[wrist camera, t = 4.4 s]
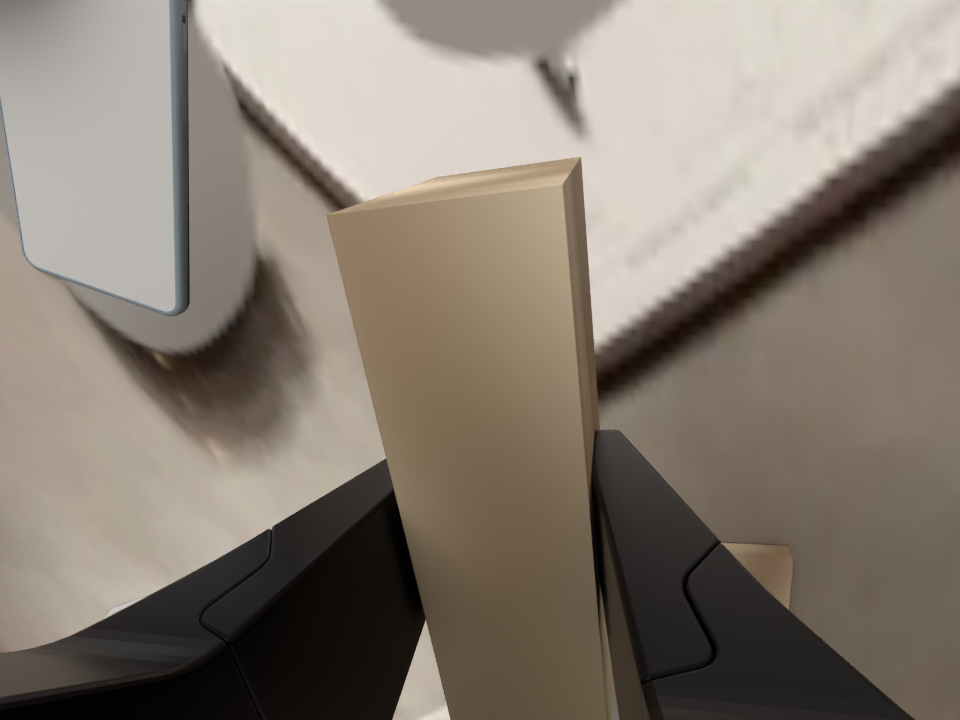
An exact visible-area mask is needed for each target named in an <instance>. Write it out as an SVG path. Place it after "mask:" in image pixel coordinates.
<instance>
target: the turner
mask: <svg viewBox="0 0 960 720" xmlns="http://www.w3.org/2000/svg"><path fill="white" fill-rule="evenodd" d="M327 220H328V224H329V228H330V232H331V236H332V240H333V244H334V248H335V252H336V256H337V260H338V264H339V268H340V272H341V276H342V280H343V284H344V288H345V293H346V297H347V301H348V305H349V309H350V313H351V317H352V321H353V325H354V329H355V333H356V337H357V341H358V345H359V349H360V353H361V357H362V362H363V366H364V370H365V374H366V378H367V382H368V386H369V390H370V394H371V398H372V402H373V406H374V410H375V414H376V418H377V422H378V426H379V430H380V435H381V439H382V443H383V447H384V451H385V455H386V459H387V463H388V467H389V471H390V475H391V479H392V483H393V487H394V491H395V495H396V499H397V504H398V508H399V512H400V516H401V520H402V524H403V528H404V532H405V536H406V540H407V544H408V548H409V552H410V556H411V560H412V564H413V568H414V573H415V577H416V581H417V585H418V589H419V593H420V597H421V601H422V605H423V609H424V613H425V617H426V621H427V625H428V629H429V633H430V637H431V641H432V646H433V650H434V654H435V658H436V662H437V666H438V670H439V674H440V678H441V682H442V686H443V690H444V694H445V698H446V702H447V706H448V710H449V715H450V719H451V720H619V714H618V707H617V700H616V693H615V686H614V679H613V672H612V665H611V658H610V651H609V644H608V637H607V630H606V623H605V616H604V609H603V602H602V595H601V588H600V579H599V566H598V553H597V541H596V528H595V515H594V503H593V490H592V477H591V473H592V458H593V446H594V435H595V431H596V430H600V426H599V411H598V397H597V382H596V368H595V354H594V339H593V325H592V310H591V296H590V281H589V267H588V252H587V238H586V223H585V209H584V194H583V180H582V165H581V157H577V158H570V159H563V160H556V161H549V162H542V163H535V164H528V165H521V166H513V167H506V168H499V169H492V170H485V171H478V172H471V173H464V174H457V175H450V176H443V177H436V178H433V179H430V180H427V181H424V182H422V183H419V184H416V185H413V186H410V187H407V188H404V189H401V190H398V191H395V192H392V193H390V194H387V195H384V196H381V197H378V198H375V199H372V200H369V201H366V202H363V203H360V204H358V205H355V206H352V207H349V208H346V209H343V210H340V211H337V212H334V213H331V214H328V215H327Z"/></svg>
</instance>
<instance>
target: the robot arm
mask: <svg viewBox="0 0 960 720" xmlns="http://www.w3.org/2000/svg"><path fill="white" fill-rule="evenodd" d="M591 477H592V490H593V503H594V515H595V528H596V541H597V553H598V566H599V579H600V588H601V595H602V602H603V609H604V616H605V623H606V630H607V637H608V644H609V651H610V658H611V665H612V672H613V679H614V686H615V693H616V700H617V707H618V714H619V720H915V719H914V718H912V717H911V716H910V715H909V714H907V713H906V712H905V711H904V710H903V709H901V708H900V707H899V706H898V705H897V704H895V703H894V702H893V701H892V700H891V699H890V698H888V697H887V696H886V695H885V694H884V693H883V692H882V691H880V690H879V689H878V688H877V687H876V686H875V685H874V684H872V683H871V682H870V681H869V680H868V679H867V678H866V677H864V676H863V675H862V674H861V673H860V672H859V671H858V670H856V669H855V668H854V667H853V666H852V665H851V664H850V663H848V662H847V661H846V660H845V659H844V658H843V657H841V656H840V655H839V654H838V653H837V652H836V651H835V650H833V649H832V648H831V647H830V646H829V645H828V644H827V643H825V642H824V641H823V640H822V639H821V638H820V637H819V636H817V635H816V634H815V633H814V632H813V631H812V630H811V629H809V628H808V627H807V626H806V625H805V624H804V623H803V622H801V621H800V620H799V619H798V618H797V617H796V616H795V615H794V614H793V613H791V612H790V611H789V610H788V609H787V608H786V607H785V606H784V605H783V604H782V603H781V602H779V601H778V600H777V599H776V598H775V597H774V596H773V595H772V594H771V593H770V592H769V591H767V590H766V589H765V588H764V587H763V586H762V585H761V584H760V583H759V582H758V580H757V579H756V578H755V577H754V576H753V575H752V574H751V573H750V572H749V571H748V570H747V569H746V568H745V567H744V566H743V565H742V564H741V563H740V562H739V561H738V560H737V559H736V558H735V557H734V555H733V554H732V553H731V552H730V551H729V550H728V549H727V548H726V547H725V546H724V545H723V544H721V542H720V540H719V539H718V538H717V537H716V536H715V535H714V534H713V533H712V531H711V530H710V529H709V528H708V527H707V526H706V525H705V524H704V523H703V522H702V521H701V519H700V518H699V517H698V516H697V515H696V514H695V513H694V512H693V511H692V510H691V508H690V507H689V506H688V505H687V504H686V503H685V502H684V501H683V500H682V499H681V497H680V496H679V495H678V494H677V493H676V492H675V491H674V490H673V489H672V488H671V486H670V485H669V484H668V483H667V482H666V481H665V480H664V479H663V478H662V477H661V475H660V474H659V473H658V472H657V471H656V470H655V469H654V468H653V467H652V466H651V465H650V463H649V462H648V461H647V460H646V459H645V458H644V457H643V456H642V455H641V454H640V452H639V451H638V450H637V449H636V448H635V447H634V446H633V445H632V444H631V443H630V441H629V440H628V439H627V438H626V437H625V436H624V435H623V434H622V433H621V432H620V431H619V430H596V431H595V435H594V446H593V458H592V473H591ZM425 620H426V617H425V613H424V609H423V605H422V601H421V597H420V593H419V589H418V585H417V581H416V577H415V573H414V568H413V564H412V560H411V556H410V552H409V548H408V544H407V540H406V536H405V532H404V528H403V524H402V520H401V516H400V512H399V508H398V504H397V499H396V495H395V491H394V487H393V483H392V479H391V475H390V471H389V467H388V463H387V459H384V460H383V461H381V462H379V463H378V464H376V465H374V466H373V467H371V468H369V469H368V470H366V471H364V472H363V473H361V474H359V475H358V476H356V477H354V478H353V479H351V480H349V481H348V482H346V483H344V484H343V485H341V486H339V487H338V488H336V489H334V490H333V491H331V492H329V493H328V494H326V495H324V496H323V497H321V498H319V499H318V500H316V501H314V502H313V503H311V504H309V505H308V506H306V507H304V508H303V509H301V510H299V511H298V512H296V513H294V514H293V515H291V516H289V517H288V518H286V519H284V520H283V521H281V522H279V523H278V524H276V525H274V526H273V527H272V530H271V529H268V530H266V531H264V532H263V533H261V534H259V535H258V536H256V537H254V538H253V539H251V540H249V541H248V542H246V543H244V544H242V545H241V546H239V547H237V548H236V549H234V550H232V551H230V552H229V553H227V554H225V555H223V556H222V557H220V558H218V559H216V560H215V561H213V562H211V563H209V564H207V565H205V566H203V567H202V568H200V569H198V570H196V571H194V572H192V573H191V574H189V575H187V576H185V577H183V578H181V579H179V580H177V581H176V582H174V583H172V584H170V585H168V586H166V587H164V588H162V589H160V590H158V591H157V592H155V593H153V594H151V595H149V596H147V597H145V598H143V599H141V600H139V601H137V602H136V603H134V604H132V605H130V606H128V607H126V608H124V609H122V610H120V611H118V612H116V613H115V614H113V615H111V616H109V617H107V618H105V619H103V620H101V621H99V622H97V623H95V624H94V625H92V626H90V627H88V628H86V629H84V630H82V631H79V632H77V633H75V634H73V635H71V636H69V637H66V638H63V639H61V640H58V641H55V642H53V643H49V644H46V645H42V646H39V647H36V648H31V649H26V650H21V651H15V652H6V653H0V720H392V719H393V716H394V713H395V710H396V707H397V704H398V701H399V698H400V695H401V692H402V689H403V686H404V683H405V680H406V677H407V674H408V671H409V668H410V665H411V662H412V659H413V656H414V653H415V650H416V647H417V644H418V641H419V638H420V635H421V632H422V629H423V626H424V623H425Z"/></svg>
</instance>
